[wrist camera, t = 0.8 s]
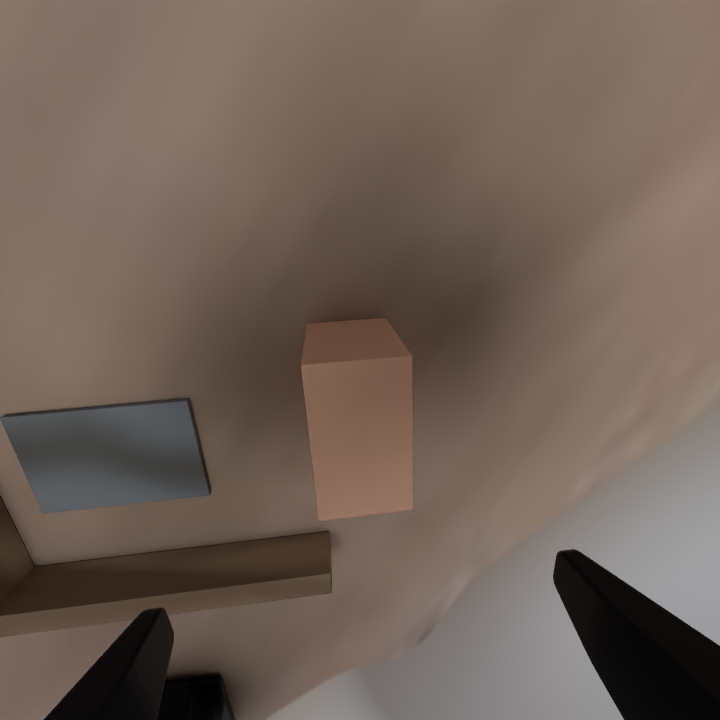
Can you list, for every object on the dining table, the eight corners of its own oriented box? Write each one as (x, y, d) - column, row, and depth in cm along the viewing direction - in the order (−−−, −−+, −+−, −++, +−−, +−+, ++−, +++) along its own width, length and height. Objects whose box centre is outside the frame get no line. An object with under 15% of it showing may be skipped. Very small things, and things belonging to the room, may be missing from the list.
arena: (330, 549, 24) (332, 592, 21) (17, 588, 22) (-27, 640, 19) (303, 294, 18) (300, 306, 15) (-122, 323, 16) (-214, 343, 14)
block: (388, 435, 21) (412, 509, 16) (319, 442, 21) (318, 520, 15) (385, 317, 19) (412, 355, 13) (306, 323, 18) (300, 365, 13)
